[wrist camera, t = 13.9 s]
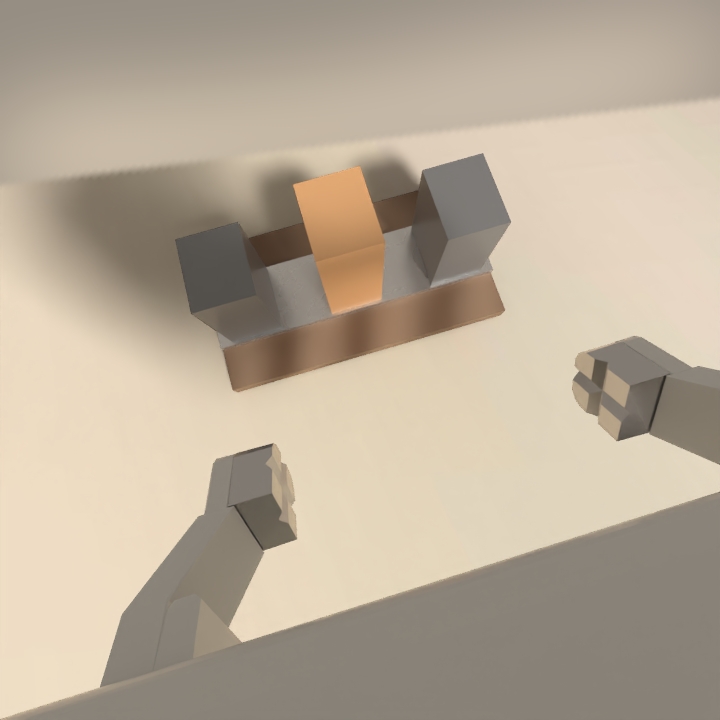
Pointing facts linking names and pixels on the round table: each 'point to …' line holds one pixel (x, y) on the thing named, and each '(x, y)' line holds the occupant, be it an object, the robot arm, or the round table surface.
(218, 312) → the mounted modules
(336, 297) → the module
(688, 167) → the round table surface
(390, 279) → the light grey flat plate
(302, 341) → the board
